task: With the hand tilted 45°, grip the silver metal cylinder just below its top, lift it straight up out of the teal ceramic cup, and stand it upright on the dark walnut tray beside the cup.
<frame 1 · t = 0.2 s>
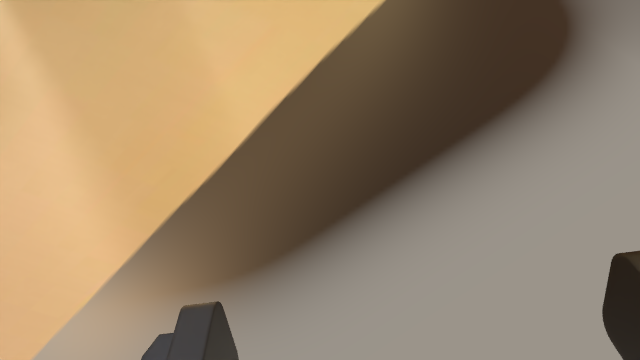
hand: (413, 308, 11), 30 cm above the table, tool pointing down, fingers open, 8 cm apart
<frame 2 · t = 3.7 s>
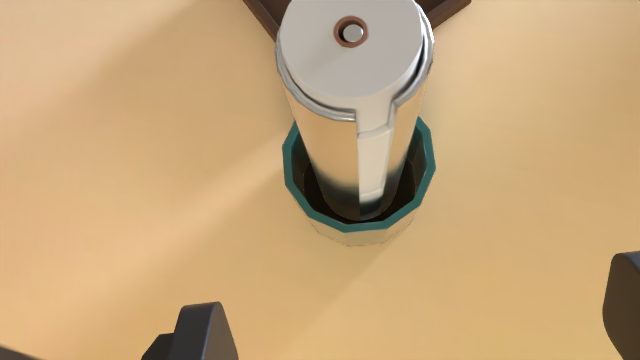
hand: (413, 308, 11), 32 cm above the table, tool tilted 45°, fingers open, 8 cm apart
silver metal cylinder: (358, 184, 44), resting in cup
cup: (358, 183, 44), on the table
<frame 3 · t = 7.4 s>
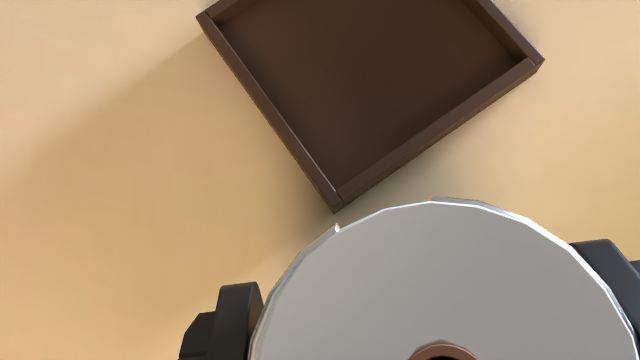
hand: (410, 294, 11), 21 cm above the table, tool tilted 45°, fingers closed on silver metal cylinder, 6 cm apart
silver metal cylinder: (383, 331, 31), resting in cup, touching gripper
tray: (363, 51, 36), on the table
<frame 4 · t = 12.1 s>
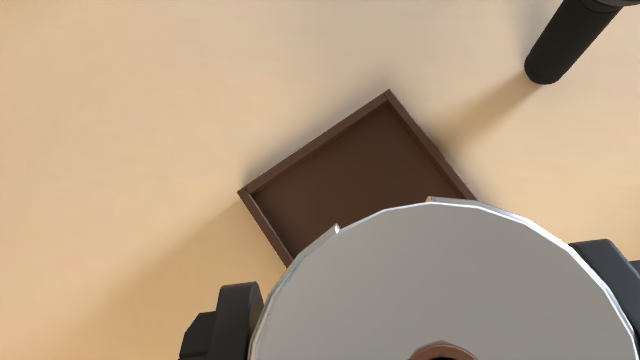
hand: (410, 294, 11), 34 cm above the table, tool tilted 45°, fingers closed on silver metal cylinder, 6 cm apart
silver metal cylinder: (383, 331, 31), point 12 cm above the table, touching gripper
tray: (368, 218, 46), on the table
microphone: (538, 73, 48), on the table
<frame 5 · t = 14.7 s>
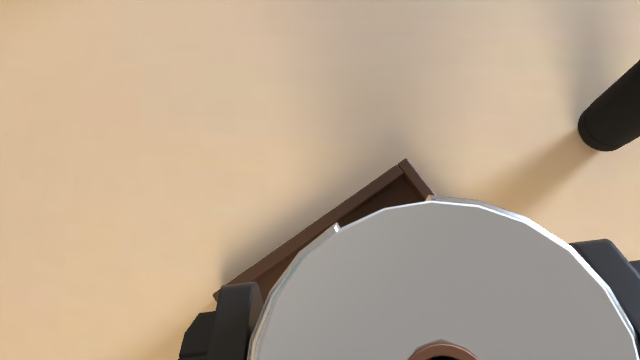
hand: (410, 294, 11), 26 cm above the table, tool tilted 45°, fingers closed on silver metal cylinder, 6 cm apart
silver metal cylinder: (383, 331, 31), point 4 cm above the table, touching gripper
tray: (380, 325, 36), on the table
microphone: (594, 134, 38), on the table
when the fingers open (22 cm above the table, at t = 16.6 s): silver metal cylinder stays where it is, resting on tray.
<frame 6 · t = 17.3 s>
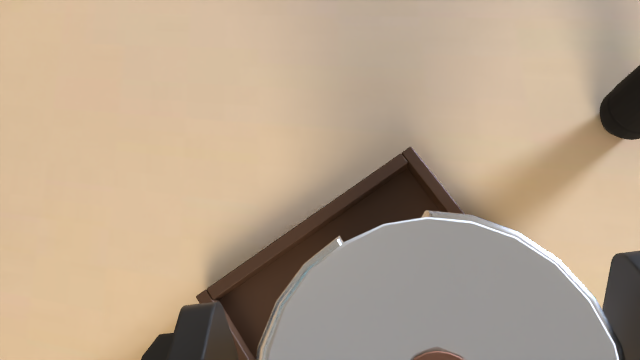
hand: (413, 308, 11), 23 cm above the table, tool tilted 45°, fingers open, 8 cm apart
silver metal cylinder: (383, 334, 32), resting on tray
tray: (382, 331, 32), on the table
microphone: (617, 121, 35), on the table
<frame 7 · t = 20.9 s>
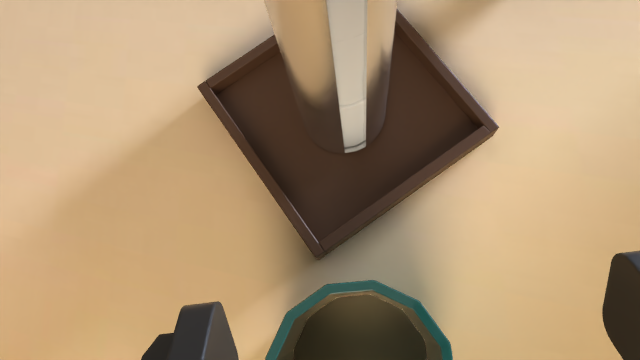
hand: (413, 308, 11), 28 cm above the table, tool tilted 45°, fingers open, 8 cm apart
silver metal cylinder: (344, 116, 41), resting on tray
tray: (343, 115, 41), on the table
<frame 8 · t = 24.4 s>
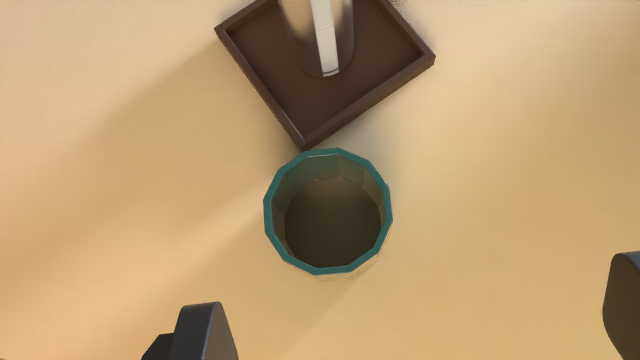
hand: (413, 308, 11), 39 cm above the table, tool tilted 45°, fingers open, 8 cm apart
silver metal cylinder: (323, 50, 55), resting on tray
tray: (323, 50, 55), on the table
cup: (332, 225, 50), on the table
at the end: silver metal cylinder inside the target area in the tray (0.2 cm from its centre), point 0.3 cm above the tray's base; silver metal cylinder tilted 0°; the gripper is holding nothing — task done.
